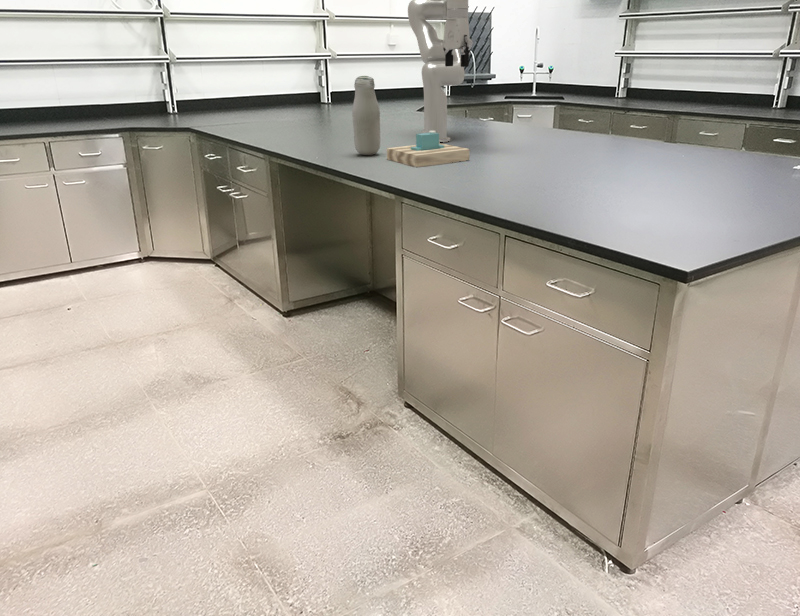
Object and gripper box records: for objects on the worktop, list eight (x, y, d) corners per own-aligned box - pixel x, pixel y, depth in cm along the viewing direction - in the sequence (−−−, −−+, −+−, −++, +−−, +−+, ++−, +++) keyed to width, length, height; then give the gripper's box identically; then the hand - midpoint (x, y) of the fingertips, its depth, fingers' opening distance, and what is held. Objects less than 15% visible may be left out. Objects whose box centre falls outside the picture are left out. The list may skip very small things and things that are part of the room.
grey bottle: (382, 152, 240) (380, 74, 230) (378, 157, 231) (376, 76, 220) (356, 152, 241) (353, 75, 231) (352, 157, 232) (348, 76, 221)
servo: (410, 160, 222) (410, 132, 219) (438, 157, 228) (438, 129, 224) (416, 162, 219) (416, 133, 215) (444, 158, 225) (444, 130, 221)
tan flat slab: (386, 159, 226) (386, 148, 225) (437, 153, 237) (437, 142, 235) (416, 167, 210) (416, 155, 209) (469, 160, 221) (469, 149, 219)
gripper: (435, 16, 228) (435, 66, 235) (463, 13, 215) (462, 67, 221) (452, 16, 232) (451, 65, 238) (480, 13, 218) (479, 66, 225)
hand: (456, 66), depth 230 cm, fingers open, 9 cm apart
